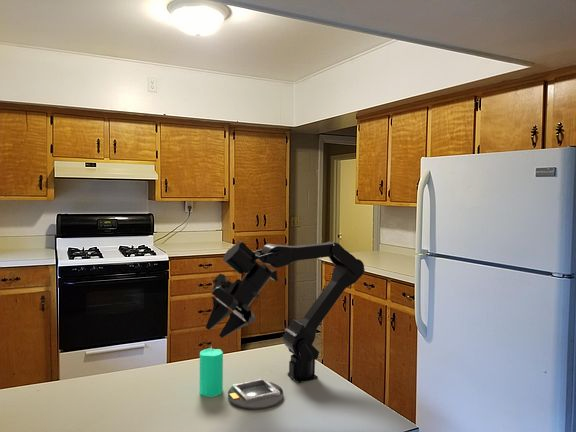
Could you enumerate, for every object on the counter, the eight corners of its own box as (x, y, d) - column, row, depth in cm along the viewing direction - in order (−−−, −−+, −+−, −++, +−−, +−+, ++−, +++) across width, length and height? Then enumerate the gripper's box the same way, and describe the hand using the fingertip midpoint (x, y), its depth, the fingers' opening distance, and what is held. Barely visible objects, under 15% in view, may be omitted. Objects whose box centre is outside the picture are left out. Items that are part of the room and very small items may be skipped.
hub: (267, 381, 123) (267, 373, 123) (292, 402, 111) (293, 393, 110) (219, 391, 116) (219, 383, 116) (241, 415, 104) (241, 406, 104)
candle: (218, 397, 112) (218, 351, 112) (195, 395, 113) (195, 349, 113) (226, 387, 118) (226, 343, 117) (204, 385, 119) (205, 341, 119)
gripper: (241, 279, 129) (206, 324, 126) (217, 255, 113) (177, 305, 109) (269, 300, 124) (234, 347, 120) (249, 278, 108) (208, 331, 104)
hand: (214, 333), depth 114 cm, fingers open, 9 cm apart
